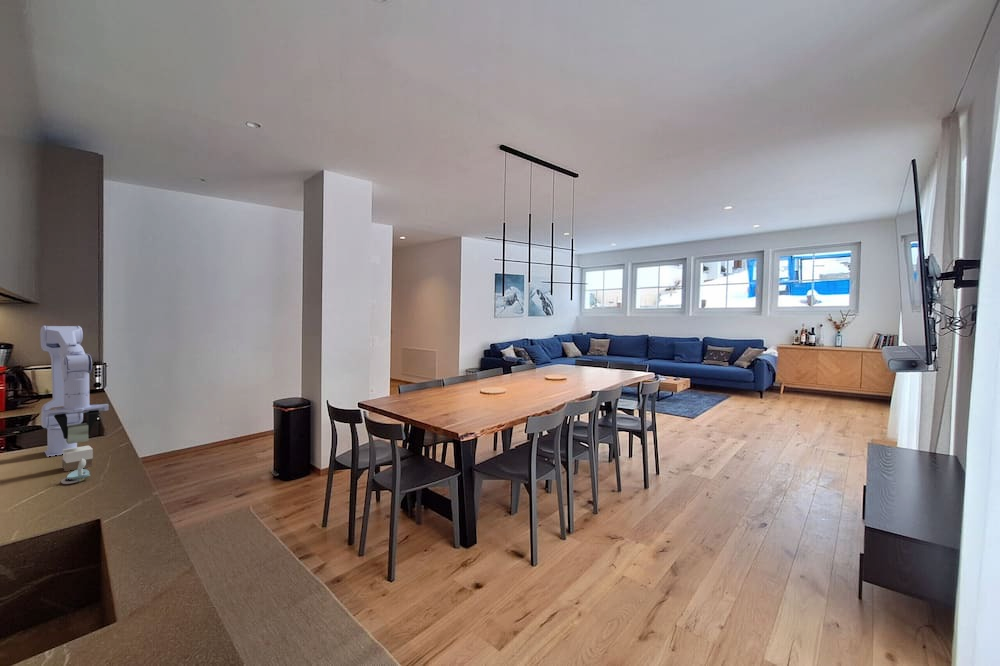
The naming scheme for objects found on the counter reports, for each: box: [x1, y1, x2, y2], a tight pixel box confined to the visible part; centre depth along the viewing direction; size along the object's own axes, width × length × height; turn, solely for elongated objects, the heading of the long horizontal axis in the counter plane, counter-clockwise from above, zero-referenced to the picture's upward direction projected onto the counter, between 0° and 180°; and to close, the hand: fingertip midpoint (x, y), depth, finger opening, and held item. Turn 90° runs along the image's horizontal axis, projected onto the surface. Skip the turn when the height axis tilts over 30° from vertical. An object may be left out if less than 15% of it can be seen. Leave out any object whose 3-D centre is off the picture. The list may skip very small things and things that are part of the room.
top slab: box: [62, 445, 94, 463], centre depth 134 cm, size 6×6×3 cm
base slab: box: [61, 458, 93, 472], centre depth 134 cm, size 6×6×3 cm
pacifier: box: [60, 458, 91, 485], centre depth 123 cm, size 7×6×6 cm
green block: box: [66, 422, 89, 444], centre depth 134 cm, size 4×4×5 cm
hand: (77, 436), depth 134 cm, fingers closed on green block, 4 cm apart
